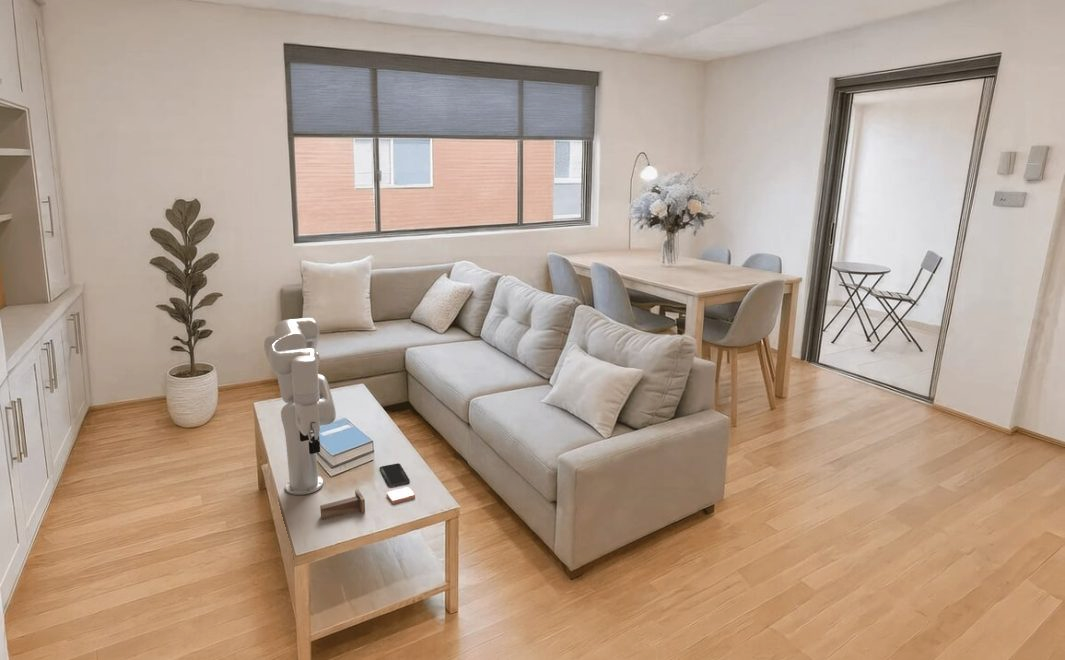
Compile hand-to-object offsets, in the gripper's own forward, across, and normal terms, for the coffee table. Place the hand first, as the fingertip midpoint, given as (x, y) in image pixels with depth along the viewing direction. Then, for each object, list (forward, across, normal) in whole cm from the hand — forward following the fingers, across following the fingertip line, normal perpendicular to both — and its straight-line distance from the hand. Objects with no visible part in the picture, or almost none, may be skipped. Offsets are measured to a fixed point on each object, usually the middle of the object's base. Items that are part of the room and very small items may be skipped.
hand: (310, 446), depth 196 cm
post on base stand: (+24, +4, +7) cm, 26 cm away
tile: (+24, +5, +24) cm, 34 cm away
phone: (+25, -10, +32) cm, 42 cm away
